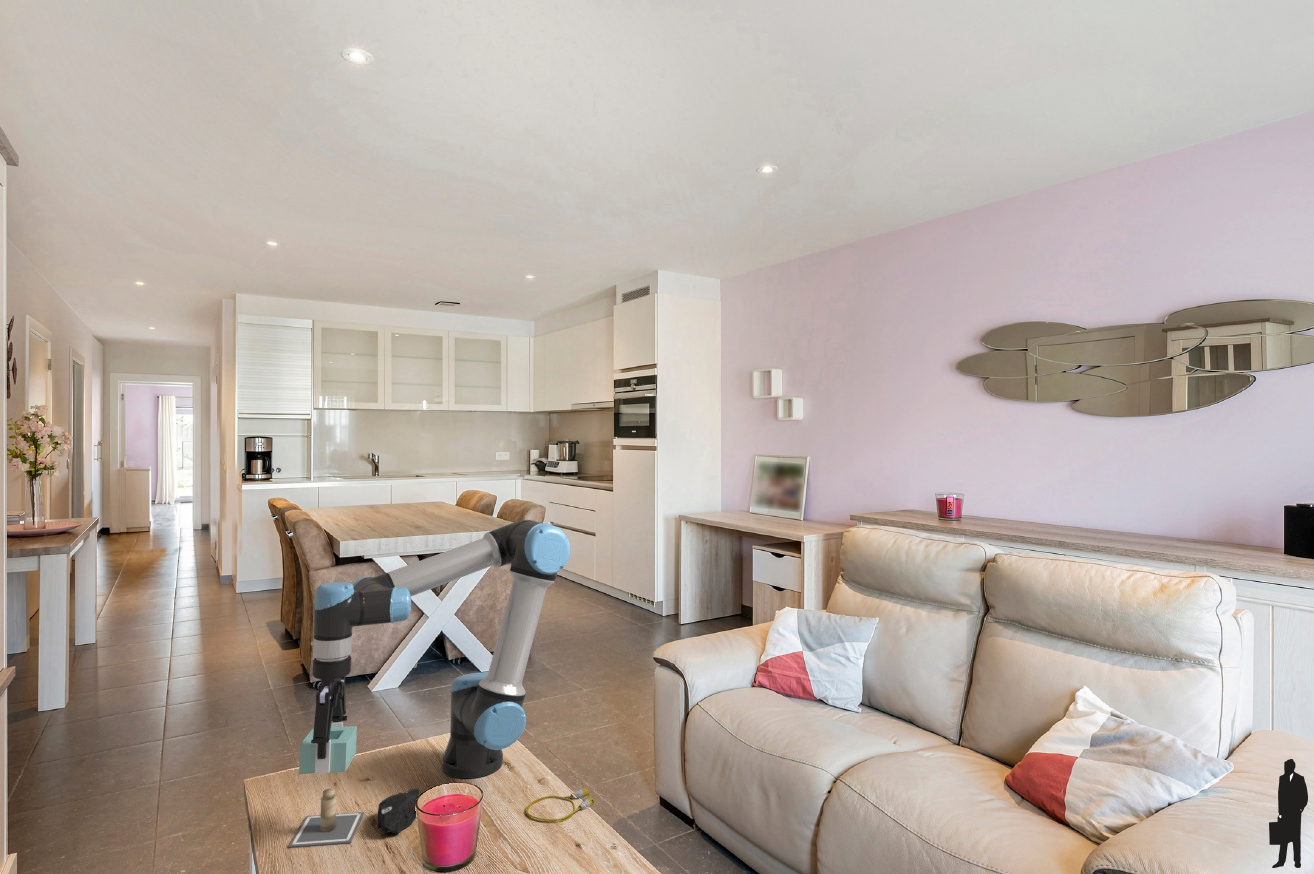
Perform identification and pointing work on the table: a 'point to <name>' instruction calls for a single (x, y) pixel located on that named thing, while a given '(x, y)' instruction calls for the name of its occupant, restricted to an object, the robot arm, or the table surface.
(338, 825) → the mat
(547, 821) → the extension cord
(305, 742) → the block with square hole
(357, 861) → the table surface
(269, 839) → the table surface
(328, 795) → the post
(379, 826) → the rock
